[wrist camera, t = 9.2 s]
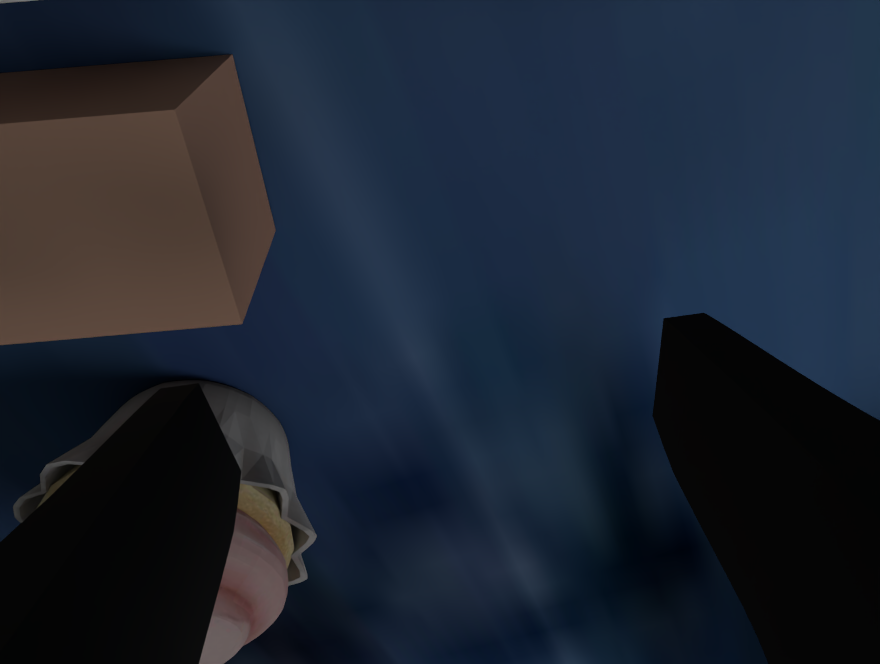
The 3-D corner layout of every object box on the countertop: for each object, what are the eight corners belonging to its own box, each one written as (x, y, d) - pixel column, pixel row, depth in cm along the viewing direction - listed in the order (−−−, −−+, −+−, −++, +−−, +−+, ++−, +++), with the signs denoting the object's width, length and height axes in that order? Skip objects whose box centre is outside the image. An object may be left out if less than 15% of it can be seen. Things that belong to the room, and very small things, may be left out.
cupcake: (280, 535, 27) (232, 806, 19) (57, 476, 24) (-114, 769, 16) (370, 397, 23) (356, 674, 15) (109, 301, 20) (-92, 586, 11)
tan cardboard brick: (232, 54, 15) (174, 109, 11) (275, 230, 18) (241, 324, 14) (-121, 82, 15) (-305, 149, 11) (-21, 255, 18) (-138, 356, 14)
